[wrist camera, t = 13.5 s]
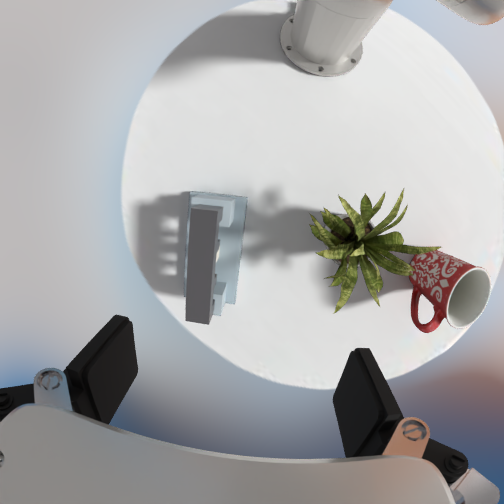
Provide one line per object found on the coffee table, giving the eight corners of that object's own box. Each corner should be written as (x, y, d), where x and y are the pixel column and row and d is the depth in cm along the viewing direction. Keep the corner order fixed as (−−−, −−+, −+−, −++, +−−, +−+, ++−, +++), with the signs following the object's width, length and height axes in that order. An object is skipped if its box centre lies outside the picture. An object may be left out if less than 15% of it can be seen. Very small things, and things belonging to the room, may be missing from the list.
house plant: (378, 168, 36) (440, 169, 21) (395, 254, 40) (452, 296, 24) (288, 193, 38) (304, 206, 23) (313, 281, 42) (337, 341, 26)
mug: (431, 230, 38) (482, 253, 25) (451, 267, 40) (496, 297, 27) (379, 281, 41) (416, 321, 28) (403, 314, 43) (438, 357, 30)
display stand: (192, 191, 39) (177, 195, 32) (247, 197, 39) (243, 202, 32) (186, 292, 43) (173, 313, 36) (235, 300, 43) (230, 322, 36)
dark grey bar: (199, 204, 33) (190, 208, 29) (223, 206, 33) (217, 211, 29) (193, 306, 37) (185, 320, 33) (214, 309, 37) (208, 324, 33)
